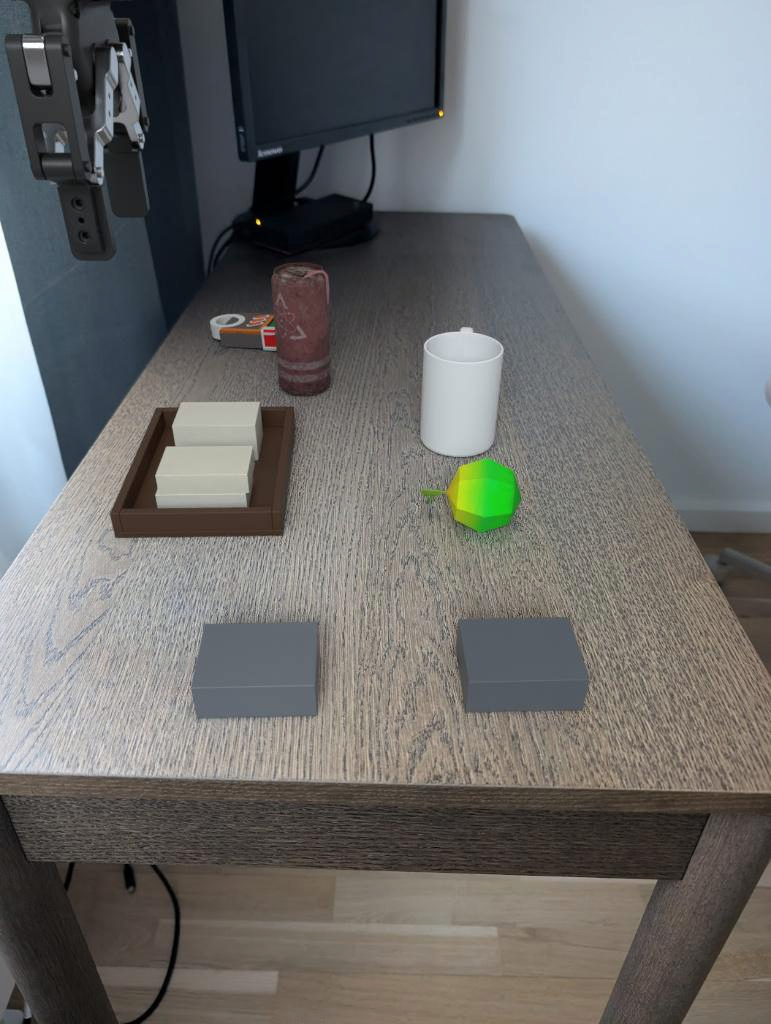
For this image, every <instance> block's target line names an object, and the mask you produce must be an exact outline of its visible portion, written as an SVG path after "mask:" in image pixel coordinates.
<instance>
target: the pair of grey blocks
mask: <svg viewBox="0 0 771 1024" xmlns="http://www.w3.org/2000/svg"><path fill="white" fill-rule="evenodd" d="M457 621H458V622H457V628H456V629H457V631H456V642H455V652H456V660H457V666H458V672H459V678H460V684H461V692H462V698H463V705H464V710H465V713H466V714H467V713H468V714H469V713H505V712H511V713H512V712H548V711H549V712H551V711H556V712H557V711H583V710H584V706H585V702H586V697H587V693H588V689H589V685H590V680H591V679H590V676H589V673H588V670H587V667H586V663H585V661H584V658H583V655H582V652H581V649H580V647H579V643H578V639H577V638H576V635H575V631H574V629H573V626H572V622H571V620H570V617H569V616H565V617H564V616H559V617H558V616H557V617H556V616H553V617H552V616H549V617H503V618H500V617H499V618H498V617H497V618H460V619H459V618H458V619H457ZM319 630H320V629H319V621H287V622H285V621H284V622H279V621H278V622H233V623H231V622H230V623H229V622H227V623H225V622H224V623H205V624H204V625H203V631H202V635H201V640H200V645H199V650H198V653H197V660H196V663H195V667H194V671H193V677H192V681H191V685H190V691H191V696H192V702H193V706H194V711H195V716H196V719H233V718H234V719H236V718H237V719H239V718H278V717H279V718H285V717H316V716H317V715H318V703H319V701H318V699H319V679H320V677H319V676H320V655H321V649H320V632H319Z"/></svg>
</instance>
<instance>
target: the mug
mask: <svg viewBox="0 0 771 1024" xmlns="http://www.w3.org/2000/svg"><path fill="white" fill-rule="evenodd" d="M504 352H505V350H504V345H503V344H502V343H501V342H500V341H499V340H497V339H496V338H493V337H491V336H488V335H486V334H483V333H479V332H474V328H472V327H470V326H463V327H460V329H459V331H448V332H442V333H438V334H435V335H433V336H431V337H429V338H428V339H427V340H425V342H424V344H423V355H422V356H423V357H422V378H421V379H422V381H421V403H420V404H421V406H420V426H419V429H420V430H419V437H420V441H421V442H422V444H423V446H425V448H428V450H430V451H432V452H434V453H436V454H439V455H442V456H446V457H454V458H467V457H474V456H478V455H480V454H483V453H485V452H487V451H488V450H490V448H491V447H492V446H493V445H494V442H495V439H496V429H497V428H496V427H497V417H498V409H499V399H500V390H501V389H500V388H501V380H502V371H503V370H502V369H503V361H504Z"/></svg>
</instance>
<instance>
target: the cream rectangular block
mask: <svg viewBox="0 0 771 1024" xmlns="http://www.w3.org/2000/svg"><path fill="white" fill-rule="evenodd" d="M178 407H179V409H178V412H177V415H176V417H175V420H174V422H173V425H172V429H173V435H174V441H175V447H178V446H253V450H254V460H259V455H260V449H261V444H262V438H263V430H262V419H261V408H260V407H261V402H260V401H184V402H183V401H181V402H180V404H179V406H178Z"/></svg>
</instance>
